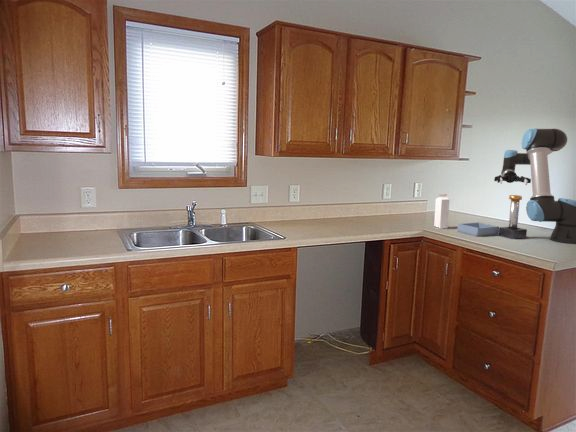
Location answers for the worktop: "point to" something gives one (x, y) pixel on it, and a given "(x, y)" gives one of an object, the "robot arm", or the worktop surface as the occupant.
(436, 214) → the milk
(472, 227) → the tray
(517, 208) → the pin
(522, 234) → the hitch block
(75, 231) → the worktop surface
